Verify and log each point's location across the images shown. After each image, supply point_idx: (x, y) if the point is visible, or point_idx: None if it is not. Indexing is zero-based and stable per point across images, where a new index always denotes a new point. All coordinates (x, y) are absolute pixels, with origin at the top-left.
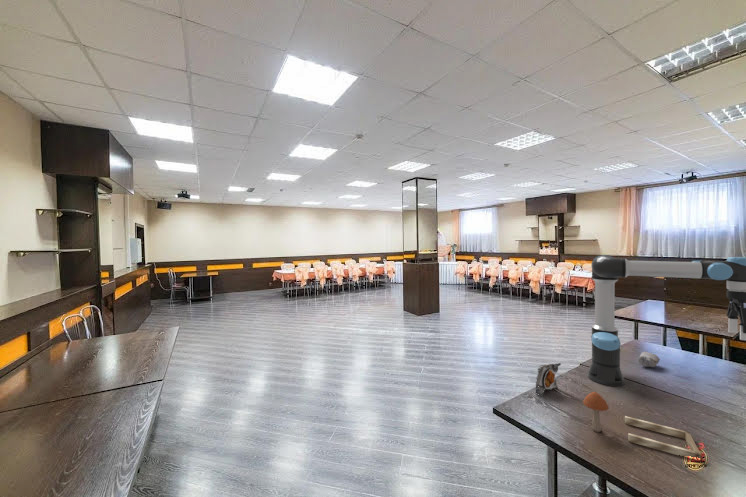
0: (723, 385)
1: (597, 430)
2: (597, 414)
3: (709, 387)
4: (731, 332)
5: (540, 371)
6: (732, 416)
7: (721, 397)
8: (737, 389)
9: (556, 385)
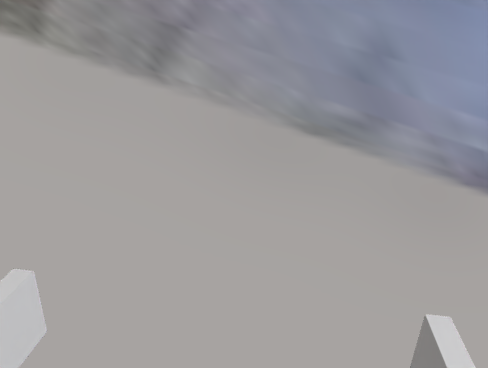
0: (400, 109)
1: None
2: None
3: (335, 34)
4: (421, 335)
5: None
6: (16, 17)
7: (216, 45)
8: (369, 148)
9: None
